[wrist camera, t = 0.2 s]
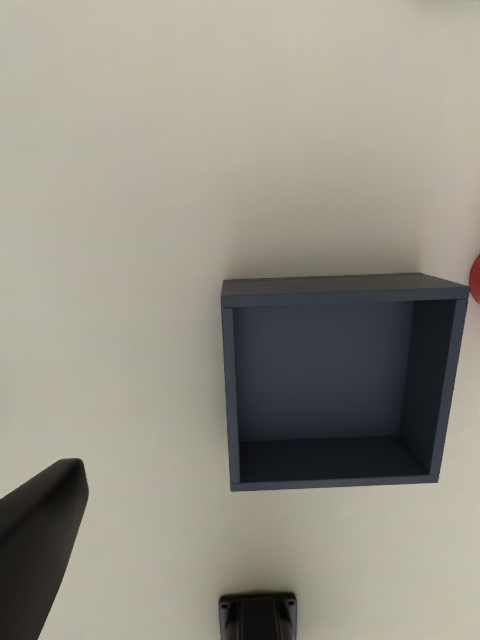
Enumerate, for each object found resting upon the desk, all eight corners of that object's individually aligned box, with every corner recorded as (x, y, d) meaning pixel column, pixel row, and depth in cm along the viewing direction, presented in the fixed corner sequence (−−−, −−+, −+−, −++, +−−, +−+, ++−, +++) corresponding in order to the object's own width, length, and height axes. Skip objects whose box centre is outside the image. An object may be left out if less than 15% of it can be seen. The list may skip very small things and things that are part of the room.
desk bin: (400, 435, 24) (438, 483, 20) (230, 442, 24) (230, 492, 20) (420, 272, 21) (471, 286, 16) (223, 279, 21) (220, 296, 16)
